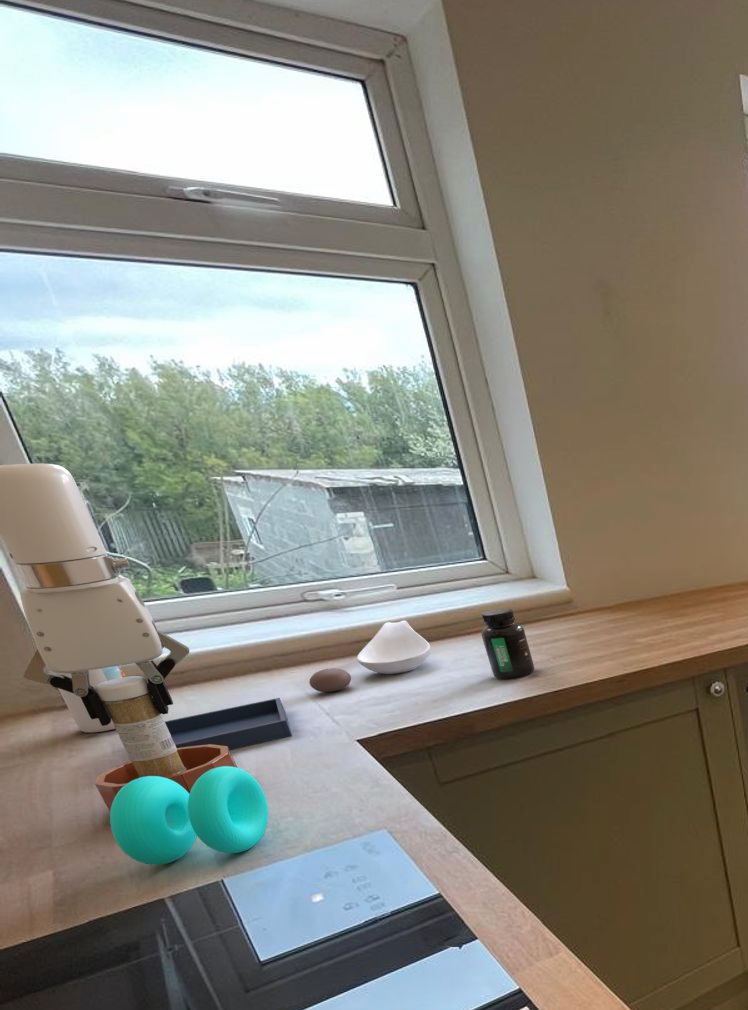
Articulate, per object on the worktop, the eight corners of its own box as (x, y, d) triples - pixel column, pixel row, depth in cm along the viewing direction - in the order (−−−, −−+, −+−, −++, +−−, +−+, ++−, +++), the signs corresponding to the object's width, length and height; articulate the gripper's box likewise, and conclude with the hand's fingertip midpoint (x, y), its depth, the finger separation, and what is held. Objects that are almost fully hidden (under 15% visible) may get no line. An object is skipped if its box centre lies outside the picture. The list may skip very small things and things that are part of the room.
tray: (140, 770, 117) (132, 754, 116) (145, 742, 127) (138, 726, 126) (292, 735, 127) (285, 720, 126) (285, 711, 138) (279, 697, 137)
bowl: (110, 832, 99) (91, 795, 97) (118, 799, 108) (100, 765, 106) (244, 797, 107) (229, 763, 105) (241, 769, 116) (227, 737, 114)
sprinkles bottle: (164, 770, 108) (119, 675, 103) (197, 770, 108) (155, 674, 103) (130, 785, 104) (82, 687, 99) (165, 785, 104) (118, 686, 99)
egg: (306, 694, 146) (297, 673, 144) (341, 683, 151) (333, 663, 149) (327, 697, 144) (319, 676, 142) (362, 686, 149) (354, 665, 147)
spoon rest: (434, 672, 155) (422, 635, 153) (359, 684, 150) (346, 647, 147) (439, 643, 174) (428, 611, 171) (373, 653, 169) (361, 620, 166)
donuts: (240, 866, 90) (201, 787, 86) (130, 884, 88) (86, 802, 84) (284, 825, 99) (251, 751, 95) (186, 839, 97) (148, 764, 93)
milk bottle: (113, 733, 131) (51, 612, 123) (67, 734, 132) (2, 614, 124) (159, 715, 138) (103, 600, 131) (115, 716, 139) (57, 602, 131)
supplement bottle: (513, 681, 148) (494, 617, 143) (485, 678, 150) (466, 615, 145) (543, 669, 154) (526, 607, 149) (516, 667, 156) (498, 606, 151)
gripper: (168, 559, 103) (224, 693, 111) (-34, 580, 93) (42, 727, 100) (166, 567, 98) (225, 707, 105) (-48, 590, 88) (34, 744, 95)
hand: (135, 715), depth 103 cm, fingers closed on sprinkles bottle, 4 cm apart
